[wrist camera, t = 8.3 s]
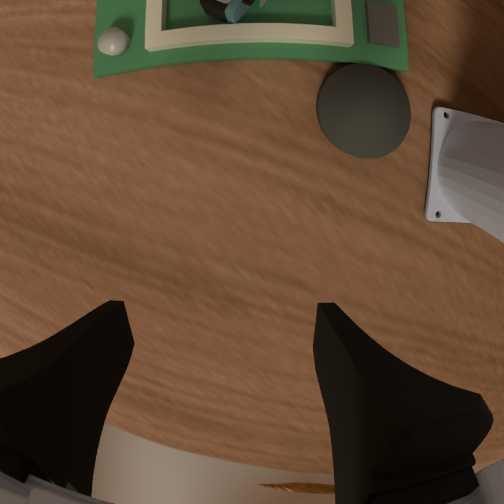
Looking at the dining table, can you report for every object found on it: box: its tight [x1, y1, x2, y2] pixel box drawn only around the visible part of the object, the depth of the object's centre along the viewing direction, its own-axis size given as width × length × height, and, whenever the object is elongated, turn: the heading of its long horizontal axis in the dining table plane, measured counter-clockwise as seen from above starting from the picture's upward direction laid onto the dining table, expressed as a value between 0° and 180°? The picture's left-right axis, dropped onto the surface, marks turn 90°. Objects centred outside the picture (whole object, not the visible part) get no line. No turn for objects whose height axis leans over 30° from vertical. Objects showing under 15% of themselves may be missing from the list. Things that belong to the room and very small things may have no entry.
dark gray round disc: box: [316, 63, 411, 158], centre depth 17 cm, size 6×6×1 cm
